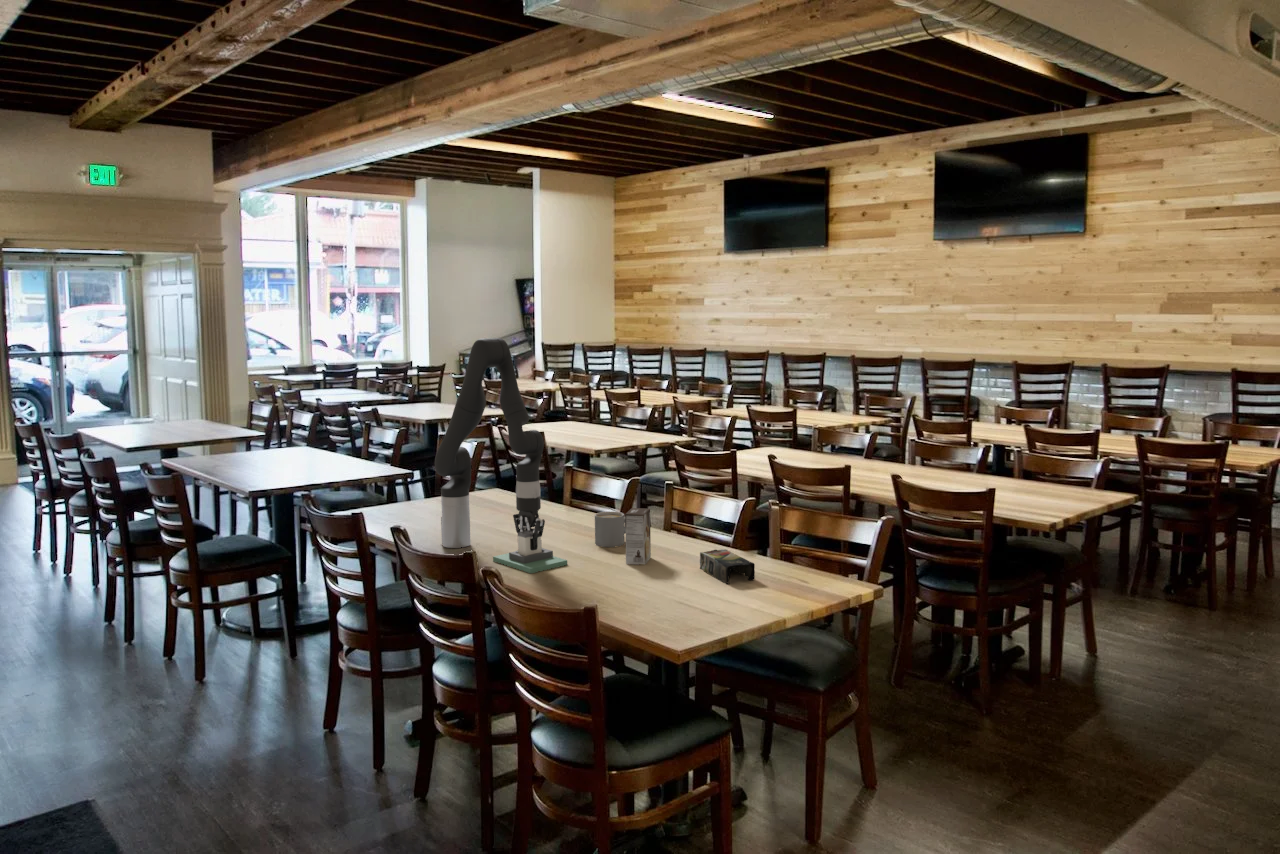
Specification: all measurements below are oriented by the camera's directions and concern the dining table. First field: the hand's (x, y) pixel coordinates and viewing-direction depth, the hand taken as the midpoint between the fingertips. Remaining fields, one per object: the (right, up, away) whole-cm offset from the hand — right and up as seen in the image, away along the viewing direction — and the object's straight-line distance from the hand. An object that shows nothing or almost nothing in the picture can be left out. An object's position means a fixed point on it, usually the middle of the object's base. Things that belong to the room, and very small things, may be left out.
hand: (529, 548), depth 305 cm
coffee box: (+34, -4, +2) cm, 34 cm away
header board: (0, -5, +1) cm, 5 cm away
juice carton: (+60, -7, -14) cm, 62 cm away
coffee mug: (+26, -2, +26) cm, 36 cm away
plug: (0, -3, 0) cm, 3 cm away
